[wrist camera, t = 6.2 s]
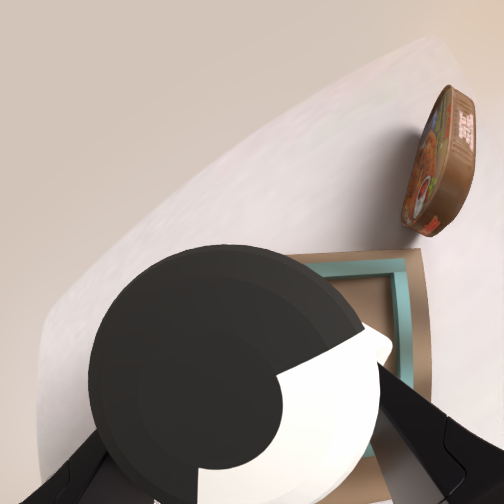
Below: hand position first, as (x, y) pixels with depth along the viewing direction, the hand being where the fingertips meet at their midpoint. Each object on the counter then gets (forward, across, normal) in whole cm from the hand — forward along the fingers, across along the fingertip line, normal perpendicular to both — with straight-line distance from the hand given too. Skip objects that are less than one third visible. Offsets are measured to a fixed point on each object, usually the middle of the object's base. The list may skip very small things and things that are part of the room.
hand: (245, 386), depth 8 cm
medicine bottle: (+6, 0, +6) cm, 8 cm away
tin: (+18, -17, +1) cm, 25 cm away
